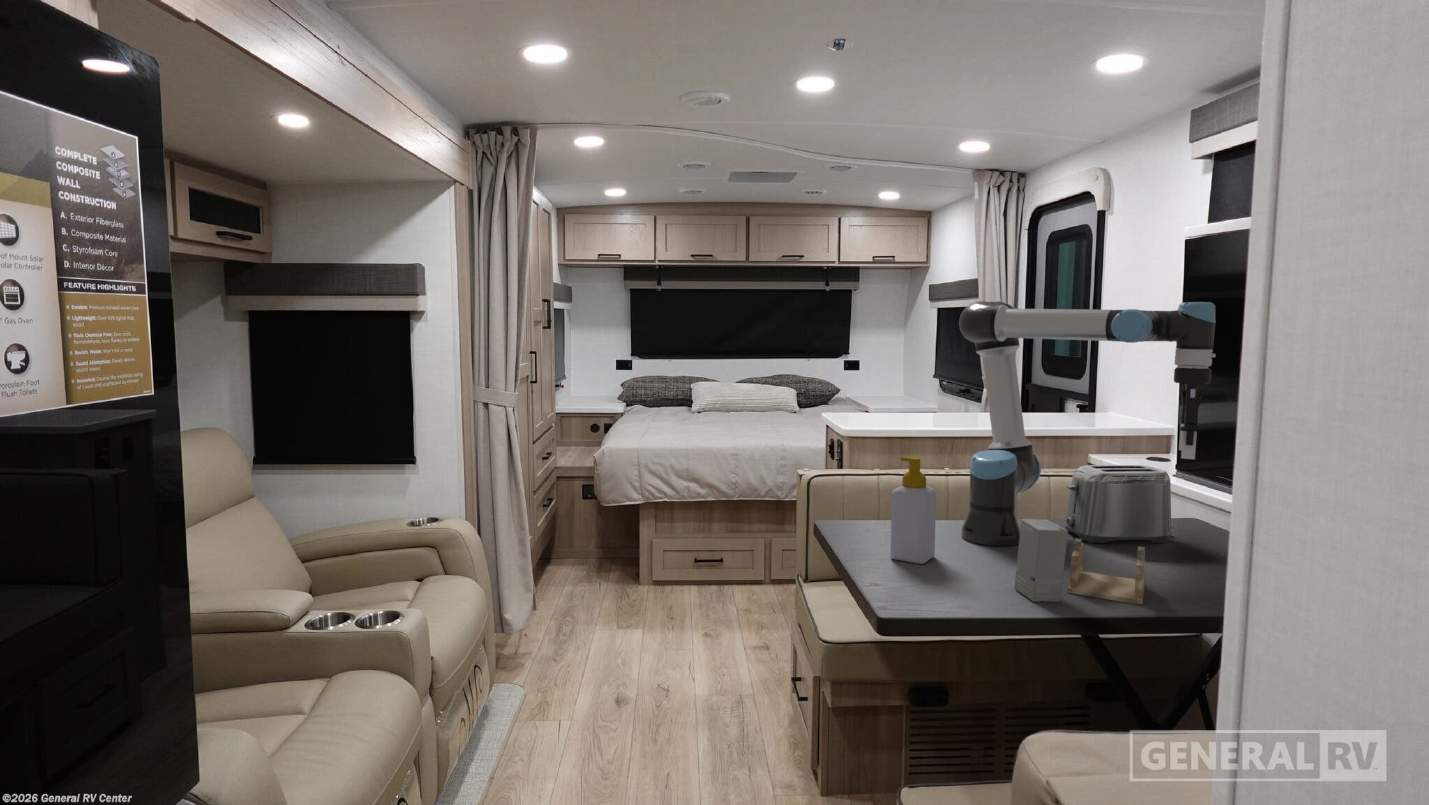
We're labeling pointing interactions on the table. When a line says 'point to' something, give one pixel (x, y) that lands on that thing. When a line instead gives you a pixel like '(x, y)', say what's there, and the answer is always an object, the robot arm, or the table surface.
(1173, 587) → the table surface
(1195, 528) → the table surface
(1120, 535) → the toaster
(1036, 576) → the skincare box
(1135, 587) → the holder
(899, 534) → the soap bottle
